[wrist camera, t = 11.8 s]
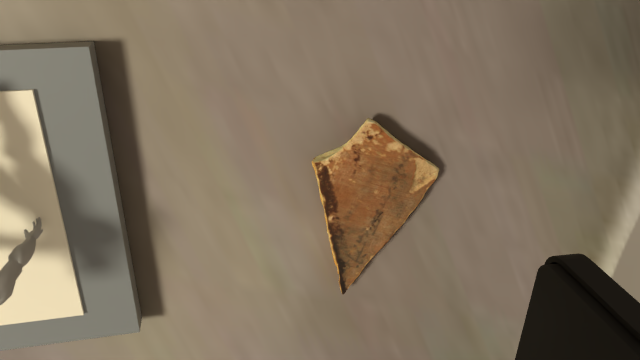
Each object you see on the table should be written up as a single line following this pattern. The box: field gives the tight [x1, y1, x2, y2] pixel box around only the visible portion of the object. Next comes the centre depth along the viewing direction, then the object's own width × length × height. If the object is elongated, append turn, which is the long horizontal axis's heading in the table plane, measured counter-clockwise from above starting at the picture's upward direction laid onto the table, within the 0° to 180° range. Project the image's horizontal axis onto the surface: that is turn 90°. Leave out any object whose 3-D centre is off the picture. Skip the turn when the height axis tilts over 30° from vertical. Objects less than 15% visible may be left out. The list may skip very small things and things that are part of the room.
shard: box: [312, 118, 439, 294], centre depth 35 cm, size 11×8×2 cm
